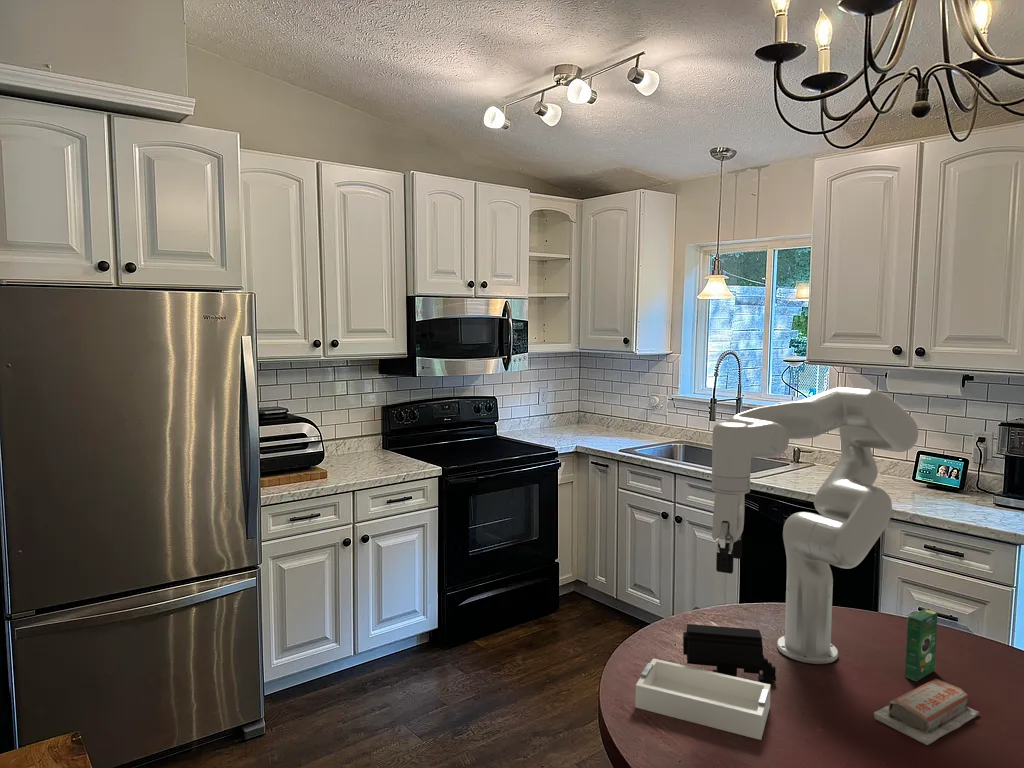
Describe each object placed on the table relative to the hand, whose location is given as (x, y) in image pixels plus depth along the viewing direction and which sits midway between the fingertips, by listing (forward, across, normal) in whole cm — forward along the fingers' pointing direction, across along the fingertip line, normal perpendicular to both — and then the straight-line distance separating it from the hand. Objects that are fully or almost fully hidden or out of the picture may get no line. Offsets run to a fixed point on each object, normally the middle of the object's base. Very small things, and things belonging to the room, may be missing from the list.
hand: (729, 564), depth 142 cm
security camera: (+24, 0, 0) cm, 24 cm away
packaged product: (+25, -2, +36) cm, 44 cm away
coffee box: (+24, -20, +36) cm, 48 cm away
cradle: (+24, +14, -2) cm, 28 cm away
